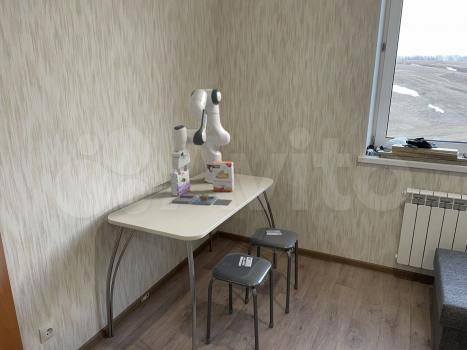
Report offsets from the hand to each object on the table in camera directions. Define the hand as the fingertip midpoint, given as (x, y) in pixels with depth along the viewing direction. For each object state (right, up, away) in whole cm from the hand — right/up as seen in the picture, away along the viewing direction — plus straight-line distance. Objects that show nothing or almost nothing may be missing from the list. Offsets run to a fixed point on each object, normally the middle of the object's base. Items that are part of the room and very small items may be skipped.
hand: (182, 172), depth 224 cm
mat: (+26, -19, -2) cm, 32 cm away
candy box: (-4, -15, +21) cm, 26 cm away
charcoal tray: (+1, -18, +5) cm, 19 cm away
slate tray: (+14, -19, +1) cm, 24 cm away
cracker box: (+26, -13, +24) cm, 38 cm away
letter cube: (+14, -18, +1) cm, 23 cm away
